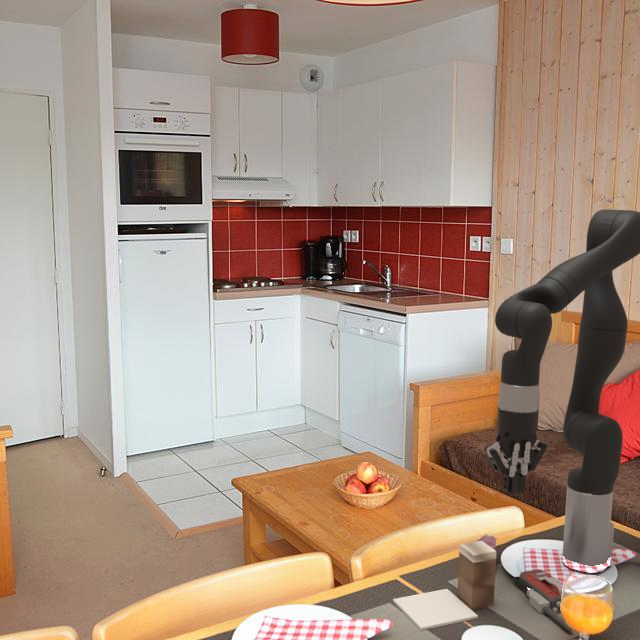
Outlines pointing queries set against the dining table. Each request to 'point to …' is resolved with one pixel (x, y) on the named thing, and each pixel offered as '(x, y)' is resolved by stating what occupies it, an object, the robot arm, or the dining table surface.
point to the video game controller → (488, 541)
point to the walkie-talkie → (542, 592)
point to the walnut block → (476, 575)
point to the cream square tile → (434, 609)
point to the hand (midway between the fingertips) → (513, 492)
